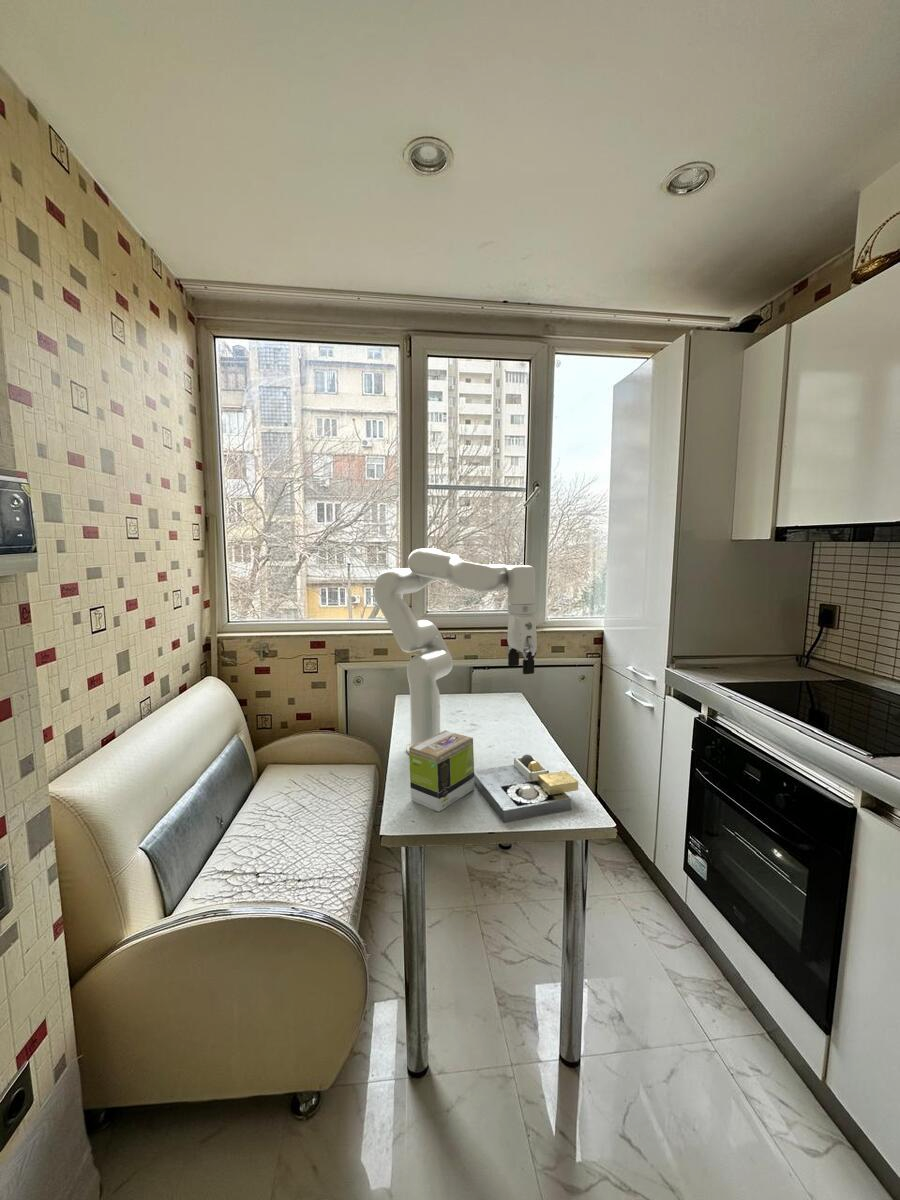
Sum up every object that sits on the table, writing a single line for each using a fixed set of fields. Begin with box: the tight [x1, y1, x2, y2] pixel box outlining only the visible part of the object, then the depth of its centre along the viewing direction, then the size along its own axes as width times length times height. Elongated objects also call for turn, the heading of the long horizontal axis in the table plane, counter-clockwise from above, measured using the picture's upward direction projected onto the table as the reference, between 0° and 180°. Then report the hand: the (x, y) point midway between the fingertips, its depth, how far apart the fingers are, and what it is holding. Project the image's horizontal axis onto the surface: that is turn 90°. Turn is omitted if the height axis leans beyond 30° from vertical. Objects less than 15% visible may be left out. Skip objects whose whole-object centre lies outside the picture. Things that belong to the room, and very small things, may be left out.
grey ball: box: [521, 754, 534, 768], centre depth 138 cm, size 4×4×4 cm
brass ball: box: [528, 760, 541, 772], centre depth 134 cm, size 4×4×4 cm
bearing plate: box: [474, 764, 572, 823], centre depth 130 cm, size 22×18×3 cm
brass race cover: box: [538, 770, 579, 795], centre depth 127 cm, size 6×8×2 cm
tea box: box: [408, 730, 475, 812], centre depth 129 cm, size 15×10×15 cm
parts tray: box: [513, 755, 550, 781], centre depth 136 cm, size 10×6×2 cm, turn 17°
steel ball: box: [518, 785, 538, 799], centre depth 124 cm, size 5×5×5 cm
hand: (520, 669), depth 140 cm, fingers open, 9 cm apart
